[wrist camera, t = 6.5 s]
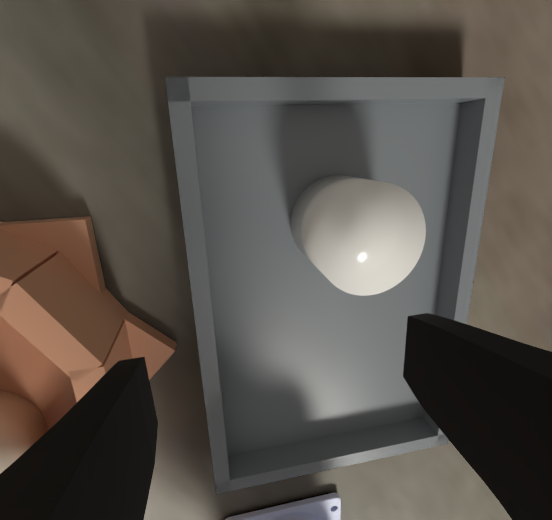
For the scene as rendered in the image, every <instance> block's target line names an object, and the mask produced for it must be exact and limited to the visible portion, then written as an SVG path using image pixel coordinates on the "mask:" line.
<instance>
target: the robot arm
mask: <svg viewBox="0 0 552 520" xmlns="http://www.w3.org/2000/svg"><path fill="white" fill-rule="evenodd" d="M403 377H404V379H405V381H406V382H407V384H408V386H409V387H410V389H411V391H412V392H413V394H414V395H415V397H416V398H417V400H418V401H419V403H420V404H421V406H422V407H423V409H424V410H425V411H426V412H427V414H428V415H429V416H430V417H431V419H432V420H433V421H434V422H435V424H436V425H437V426H438V427H439V428H440V430H441V431H442V432H443V433H444V434H445V436H446V437H447V438H448V439H449V440H450V442H451V443H452V444H453V445H454V446H455V448H456V449H457V450H458V451H459V452H460V454H461V455H462V456H463V457H464V458H465V460H466V461H467V462H468V463H469V464H470V466H471V467H472V468H473V469H474V470H475V472H476V473H477V474H478V475H479V476H480V477H481V479H482V480H483V481H484V482H485V484H486V485H487V486H488V487H489V489H490V490H491V491H492V493H493V494H494V495H495V496H496V498H497V499H498V500H499V502H500V503H501V504H502V506H503V507H504V509H505V510H506V511H507V513H508V514H509V516H510V517H511V518H512V520H552V352H550V351H547V350H543V349H540V348H536V347H533V346H530V345H527V344H524V343H521V342H518V341H515V340H512V339H509V338H506V337H503V336H500V335H497V334H494V333H491V332H488V331H485V330H482V329H479V328H476V327H473V326H470V325H467V324H464V323H461V322H458V321H455V320H451V319H448V318H445V317H441V316H438V315H434V314H429V313H424V314H418V315H411V316H408V319H407V332H406V344H405V357H404V369H403ZM157 426H158V421H157V416H156V411H155V406H154V401H153V396H152V391H151V386H150V382H149V377H148V372H147V367H146V362H145V357H139V358H133V359H126V360H120V361H118V362H117V363H116V364H115V365H114V366H112V367H111V368H110V369H109V370H108V371H107V372H106V374H105V375H104V376H103V377H102V378H101V379H100V380H99V381H98V382H97V383H96V384H95V385H94V386H93V387H92V388H91V389H90V390H89V391H88V392H87V393H86V394H85V395H84V396H83V397H82V398H81V399H80V400H79V401H78V402H77V403H76V404H75V405H74V406H73V407H72V408H71V409H70V410H69V411H68V412H67V413H66V414H65V415H64V416H63V417H62V418H61V419H60V420H59V421H58V422H57V423H56V424H55V425H54V426H53V427H51V428H50V429H49V430H48V431H47V432H46V433H45V434H44V435H43V436H42V437H41V438H40V439H38V440H37V441H36V442H35V443H34V444H33V445H32V446H31V447H30V448H29V449H28V450H27V451H25V452H24V453H23V454H22V455H21V456H20V457H19V458H18V459H17V460H16V461H15V462H13V463H12V464H11V465H10V466H9V467H8V468H6V469H5V470H4V471H3V472H2V473H1V474H0V520H143V519H144V514H145V509H146V504H147V500H148V494H149V489H150V484H151V479H152V474H153V469H154V463H155V452H156V440H157ZM340 517H341V499H340V496H339V494H337V493H330V494H325V495H321V496H317V497H313V498H308V499H304V500H300V501H295V502H291V503H287V504H283V505H278V506H274V507H270V508H266V509H261V510H257V511H253V512H248V513H244V514H240V515H236V516H231V517H228V518H226V519H225V520H340Z"/></svg>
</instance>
